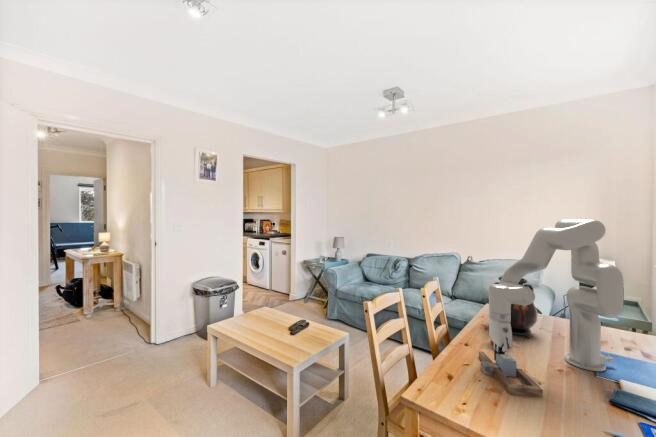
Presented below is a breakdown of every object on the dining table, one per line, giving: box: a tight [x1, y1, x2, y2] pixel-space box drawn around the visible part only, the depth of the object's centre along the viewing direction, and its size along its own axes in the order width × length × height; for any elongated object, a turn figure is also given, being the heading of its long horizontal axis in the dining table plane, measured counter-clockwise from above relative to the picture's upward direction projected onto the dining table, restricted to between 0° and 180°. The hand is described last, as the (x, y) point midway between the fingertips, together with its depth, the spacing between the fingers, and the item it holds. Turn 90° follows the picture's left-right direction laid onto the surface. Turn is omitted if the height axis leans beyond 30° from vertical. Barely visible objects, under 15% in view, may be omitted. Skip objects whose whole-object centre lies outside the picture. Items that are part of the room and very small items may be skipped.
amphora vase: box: [493, 275, 538, 338], centre depth 148 cm, size 22×22×28 cm
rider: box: [495, 353, 517, 378], centre depth 108 cm, size 5×5×6 cm
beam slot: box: [478, 350, 544, 398], centre depth 107 cm, size 13×26×3 cm, turn 173°
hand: (499, 361), depth 113 cm, fingers closed
